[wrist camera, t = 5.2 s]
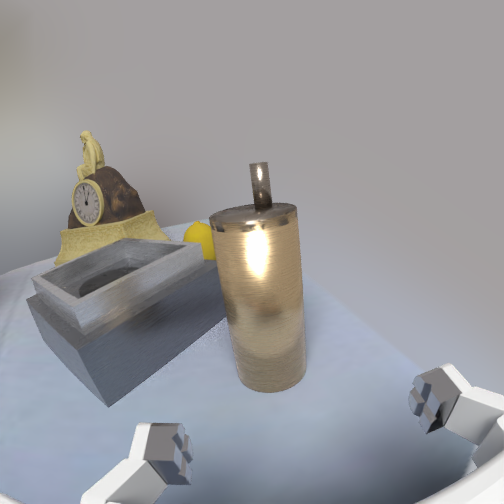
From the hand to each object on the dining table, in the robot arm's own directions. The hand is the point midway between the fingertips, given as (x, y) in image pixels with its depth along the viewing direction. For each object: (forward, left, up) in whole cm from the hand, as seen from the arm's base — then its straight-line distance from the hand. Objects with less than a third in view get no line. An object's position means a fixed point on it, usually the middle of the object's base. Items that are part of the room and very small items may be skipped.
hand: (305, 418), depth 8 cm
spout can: (+10, +8, -9) cm, 15 cm away
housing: (+8, +26, -9) cm, 28 cm away
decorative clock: (+23, +57, -9) cm, 62 cm away
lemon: (+26, +29, -9) cm, 39 cm away
